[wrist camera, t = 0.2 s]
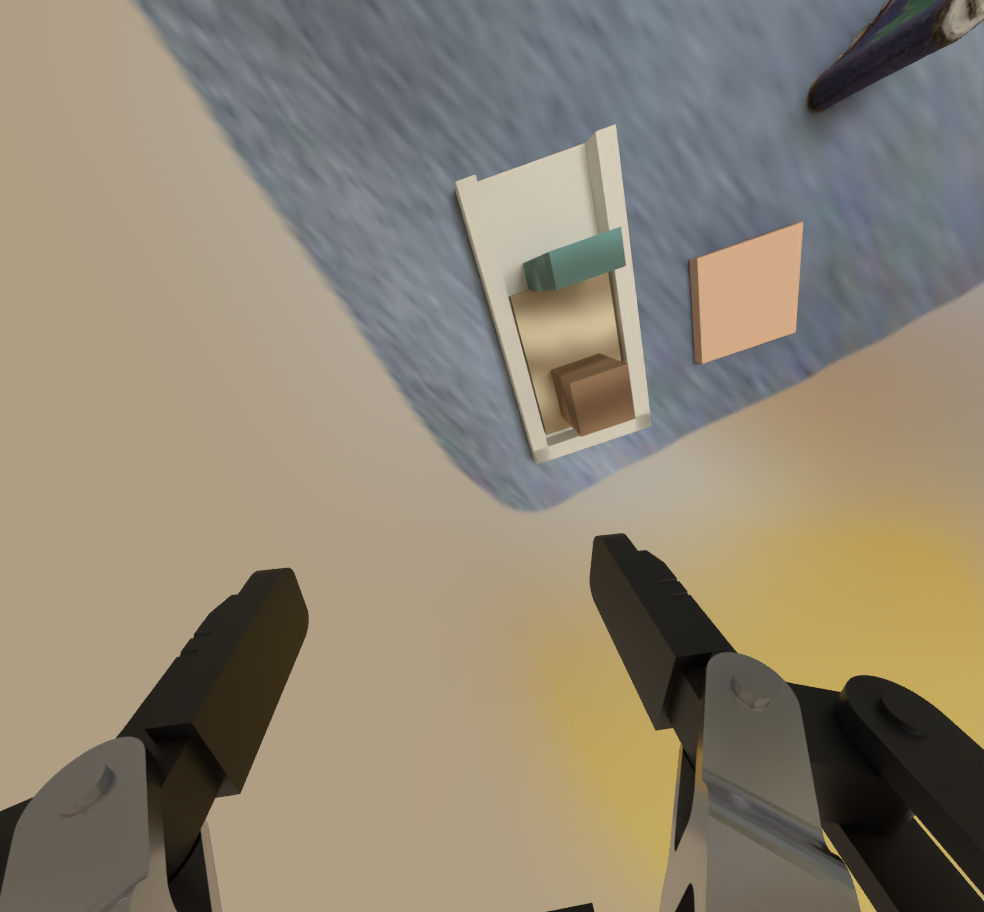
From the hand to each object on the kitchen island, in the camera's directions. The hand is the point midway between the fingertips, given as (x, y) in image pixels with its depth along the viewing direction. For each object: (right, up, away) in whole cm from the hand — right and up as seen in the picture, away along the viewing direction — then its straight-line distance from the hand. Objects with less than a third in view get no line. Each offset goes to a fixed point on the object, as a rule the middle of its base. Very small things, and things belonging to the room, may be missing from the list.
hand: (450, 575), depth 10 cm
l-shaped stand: (+9, +14, +25) cm, 30 cm away
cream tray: (+8, +16, +25) cm, 31 cm away
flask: (+31, +36, +19) cm, 51 cm away
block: (+10, +10, +26) cm, 30 cm away
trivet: (+26, +19, +26) cm, 41 cm away
